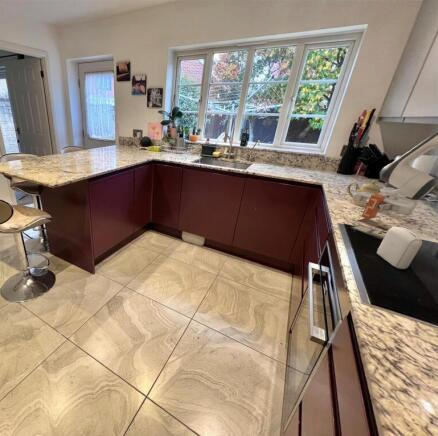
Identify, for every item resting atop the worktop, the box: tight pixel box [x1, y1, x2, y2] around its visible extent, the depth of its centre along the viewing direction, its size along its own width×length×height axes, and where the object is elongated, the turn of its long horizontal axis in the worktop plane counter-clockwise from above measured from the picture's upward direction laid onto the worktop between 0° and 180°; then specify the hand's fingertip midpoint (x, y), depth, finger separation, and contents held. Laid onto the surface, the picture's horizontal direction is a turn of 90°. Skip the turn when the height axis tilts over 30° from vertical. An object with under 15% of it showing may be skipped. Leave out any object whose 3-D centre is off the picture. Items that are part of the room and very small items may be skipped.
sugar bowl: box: [347, 179, 383, 208], centre depth 134 cm, size 15×11×15 cm
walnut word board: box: [356, 218, 393, 232], centre depth 106 cm, size 18×8×2 cm, turn 26°
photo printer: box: [376, 226, 423, 270], centre depth 80 cm, size 10×4×12 cm, turn 169°
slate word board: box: [350, 224, 387, 241], centre depth 99 cm, size 18×8×2 cm, turn 26°
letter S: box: [361, 194, 386, 220], centre depth 99 cm, size 3×5×10 cm, turn 116°
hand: (373, 204), depth 98 cm, fingers closed on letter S, 3 cm apart
